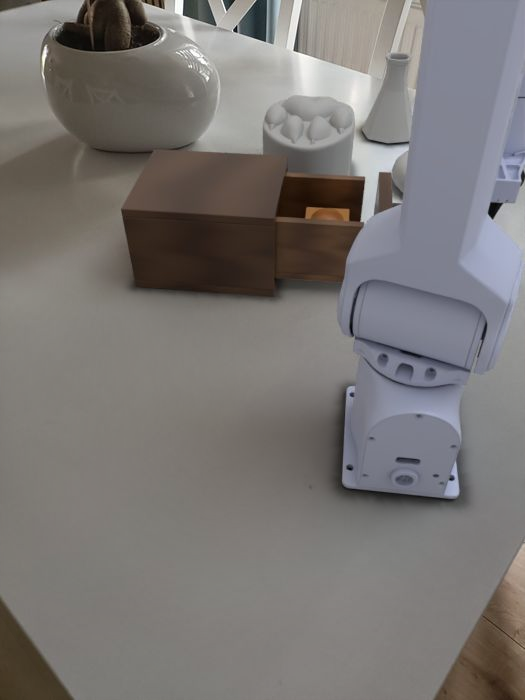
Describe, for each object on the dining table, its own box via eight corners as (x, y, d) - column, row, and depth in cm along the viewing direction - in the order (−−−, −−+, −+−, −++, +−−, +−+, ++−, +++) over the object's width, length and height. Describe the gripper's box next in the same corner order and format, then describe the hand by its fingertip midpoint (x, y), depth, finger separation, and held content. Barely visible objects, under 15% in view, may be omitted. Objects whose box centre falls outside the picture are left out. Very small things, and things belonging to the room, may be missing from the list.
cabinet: (286, 230, 67) (288, 155, 61) (274, 296, 59) (274, 218, 53) (164, 222, 69) (154, 148, 63) (135, 286, 60) (120, 208, 54)
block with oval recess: (346, 269, 59) (349, 233, 56) (301, 267, 59) (303, 231, 56) (346, 236, 63) (350, 201, 60) (305, 234, 63) (306, 199, 60)
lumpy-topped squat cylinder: (352, 157, 79) (358, 88, 73) (346, 211, 70) (353, 137, 64) (271, 152, 80) (271, 84, 74) (255, 204, 71) (253, 131, 65)
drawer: (424, 234, 65) (436, 174, 60) (430, 296, 57) (445, 234, 53) (264, 224, 67) (264, 165, 62) (250, 283, 59) (248, 221, 54)
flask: (416, 146, 81) (429, 67, 74) (360, 143, 82) (368, 64, 75) (415, 123, 86) (427, 47, 79) (362, 120, 87) (370, 44, 80)
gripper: (449, 50, 54) (423, 190, 64) (466, 120, 44) (432, 275, 53) (533, 53, 53) (494, 194, 63) (570, 125, 43) (517, 281, 53)
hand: (470, 232), depth 58 cm, fingers closed
